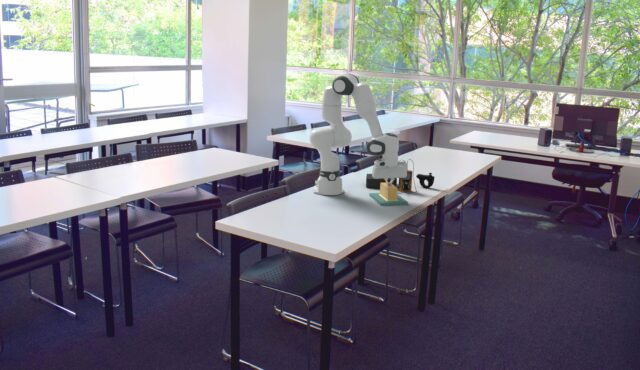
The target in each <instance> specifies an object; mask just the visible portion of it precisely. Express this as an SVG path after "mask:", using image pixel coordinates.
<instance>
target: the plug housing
mask: <svg viewBox="0 0 640 370" xmlns="http://www.w3.org/2000/svg"><path fill="white" fill-rule="evenodd" d="M398 191H399V188H398V186H397V187H395V186H394V185H392V186H387V185H386V183H381V184H380V188H379V193H380V195H381V196H383V197H384V198H385V199H386V200H397V194H398Z"/></svg>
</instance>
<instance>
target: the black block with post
mask: <svg viewBox="0 0 640 370" xmlns="http://www.w3.org/2000/svg"><path fill="white" fill-rule="evenodd" d="M378 157H379V159H381V158H383V155H378ZM365 177H366V178H365V188H367V189H380V184H381V183H386V181H385V178H378V179H375V178H373V177H372V173H366V176H365ZM387 181H388V182H390V181H391V178H388V180H387ZM392 185H394V186H395V187H397V188H398V178H394V181H393V182H392Z"/></svg>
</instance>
